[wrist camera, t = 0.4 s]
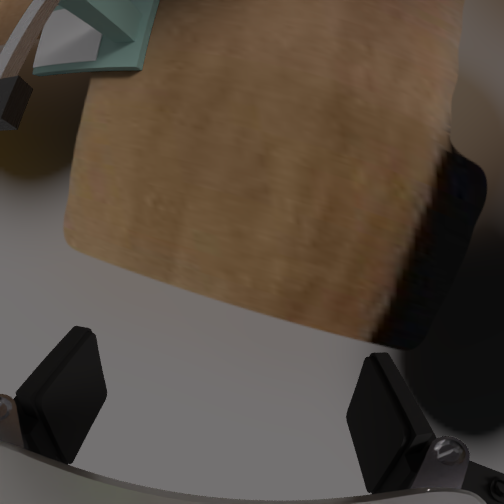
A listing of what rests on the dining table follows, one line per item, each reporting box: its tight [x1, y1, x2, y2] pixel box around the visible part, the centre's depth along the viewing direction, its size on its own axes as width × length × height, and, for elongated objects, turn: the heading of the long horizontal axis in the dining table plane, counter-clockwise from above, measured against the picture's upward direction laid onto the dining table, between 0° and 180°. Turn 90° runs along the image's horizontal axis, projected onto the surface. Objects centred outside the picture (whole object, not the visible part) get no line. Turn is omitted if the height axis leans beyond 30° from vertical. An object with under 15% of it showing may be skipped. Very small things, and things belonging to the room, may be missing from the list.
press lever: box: [0, 0, 60, 130], centre depth 15 cm, size 16×6×3 cm, turn 171°
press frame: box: [33, 0, 160, 76], centre depth 24 cm, size 11×17×16 cm, turn 81°
